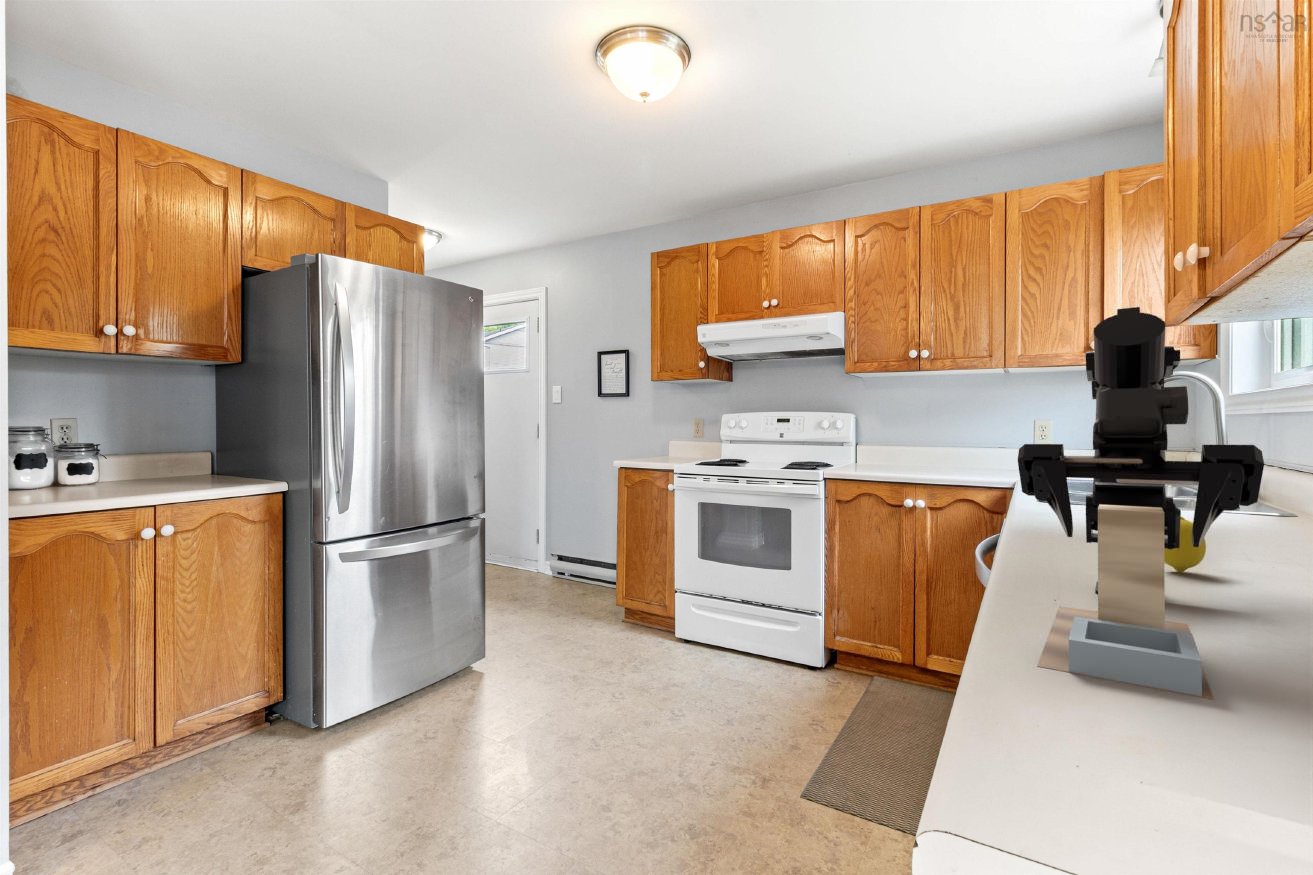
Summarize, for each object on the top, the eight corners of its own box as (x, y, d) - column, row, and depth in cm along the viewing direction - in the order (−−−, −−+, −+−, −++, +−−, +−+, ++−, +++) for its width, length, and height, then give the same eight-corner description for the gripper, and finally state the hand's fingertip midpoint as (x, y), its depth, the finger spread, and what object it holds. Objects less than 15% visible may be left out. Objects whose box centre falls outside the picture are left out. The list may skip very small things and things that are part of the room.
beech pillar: (1099, 633, 58) (1099, 504, 58) (1162, 642, 55) (1161, 507, 55) (1098, 645, 54) (1097, 508, 54) (1164, 656, 51) (1164, 512, 51)
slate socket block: (1074, 644, 54) (1074, 616, 54) (1191, 664, 50) (1191, 633, 50) (1068, 671, 48) (1068, 639, 48) (1201, 696, 43) (1201, 660, 44)
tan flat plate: (1059, 615, 67) (1059, 606, 67) (1187, 633, 61) (1187, 623, 61) (1037, 678, 49) (1037, 665, 49) (1213, 713, 43) (1213, 699, 43)
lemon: (1155, 566, 92) (1155, 513, 92) (1205, 571, 89) (1204, 516, 89) (1154, 573, 88) (1154, 516, 88) (1207, 578, 85) (1206, 520, 85)
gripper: (1019, 369, 67) (1004, 475, 58) (1259, 354, 55) (1286, 484, 47) (1028, 442, 73) (1016, 548, 64) (1246, 442, 62) (1267, 572, 53)
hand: (1129, 538), depth 57 cm, fingers open, 9 cm apart
